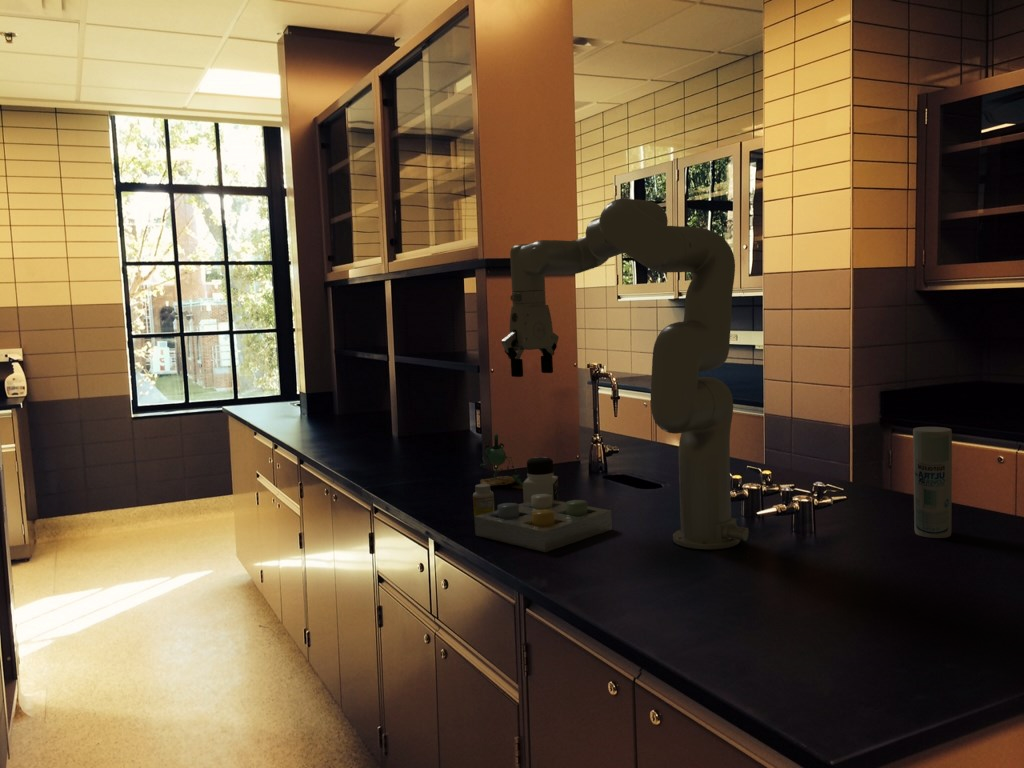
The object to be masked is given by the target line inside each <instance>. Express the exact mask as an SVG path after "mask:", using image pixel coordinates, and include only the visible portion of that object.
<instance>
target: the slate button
mask: <svg viewBox="0 0 1024 768" xmlns="http://www.w3.org/2000/svg"><path fill="white" fill-rule="evenodd" d="M519 504H520V503H519ZM519 504H518V503H516V502H503V503H499V504H497V510H498V518H500V519H505V520H510V519H514V518H517V517H519Z"/></svg>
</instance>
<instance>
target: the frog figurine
mask: <svg viewBox="0 0 1024 768" xmlns="http://www.w3.org/2000/svg"><path fill="white" fill-rule="evenodd" d="M493 438H494V442H493V443H494V445H493V446H491V449H490V445H489V444H487V445H485V447H484V451H485V454H486V457H487V459H486V460H485V457H484V456H482V460H483V463H480V465H479V466H480V467H482V466H485V465H488V462H489V463H490V464H491V465H493V473H494V474H492V475H493V477H491V478H485V479H484V478H482V479H480V481H479V482H480V483H479V484H489V485H490V487H493V486H504V485H505V486H506V485H509V484H512V485H511V488H512V489H513V488H515V489H519V490H523V482H524V481H523V480H522V479H521V477H520V474H519V472H517V469H515V468H514V467H515V466H514V463H513V459H512V457H511V456H507V454H506V451H505V450H504V448H505V445H504V444H503V443H502V442H501V443H499V434H498V433H496V434H494V437H493ZM508 458H509V459H508ZM506 460H507V461H508V466H507V467H506V468H507V469H506V470H509V469H510V468H509V467H510V462H511V468H512V469H515V473H512V474H511V475H512V476H510V475H509V476H508V475H505V476H503V475H502V476H501V475H500V474H499V472H500V471H501V470H502V471H503V472H505V470H504V469H503V468H500V469H499V470H498V468H499V466H501V465H503V464H504V463H505V461H506ZM497 475H498V476H497ZM515 482H516V485H515ZM513 484H514V485H513Z"/></svg>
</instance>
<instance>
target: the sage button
mask: <svg viewBox="0 0 1024 768" xmlns="http://www.w3.org/2000/svg"><path fill="white" fill-rule="evenodd" d="M565 502H566V515H570V516H575V517H580V516H583V515H586V514H588V507H587V506H588V501H587V500H584V499H573V500H568V501H565Z"/></svg>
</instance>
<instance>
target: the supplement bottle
mask: <svg viewBox="0 0 1024 768" xmlns="http://www.w3.org/2000/svg"><path fill="white" fill-rule="evenodd" d="M474 487H475V492H473V494H472V500H473V501H472V502H473V503H472V504H473V519H474V522H475V517H474V516H478V515H481V514H485V513H489V512H492V511H496V509H495V495H494V492H493V491H492V490H491V486H490V485H489V484H481V483H479V484H476V485H475V486H474Z"/></svg>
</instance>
